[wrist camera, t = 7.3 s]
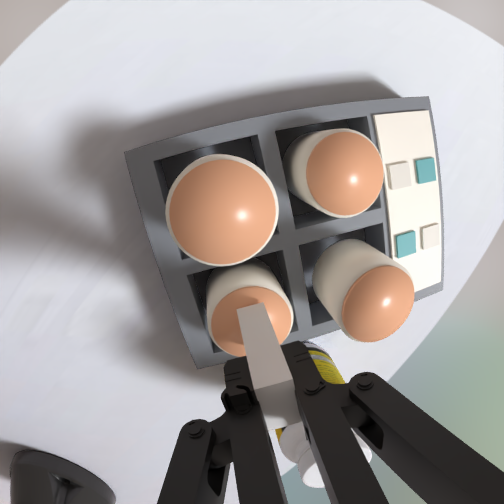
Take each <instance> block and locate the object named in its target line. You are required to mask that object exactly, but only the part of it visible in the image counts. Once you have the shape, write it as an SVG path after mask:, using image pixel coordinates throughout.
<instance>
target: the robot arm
mask: <svg viewBox="0 0 504 504" xmlns="http://www.w3.org/2000/svg"><path fill="white" fill-rule="evenodd" d="M236 310H237V314H238V319H239V324H240V329H241V333H242V338H243V342H244V347H245V352H246V356H242V357H239V358H235V359H231V360H227V362H226V364H225V366H224V374H225V382H226V389H225V390H224V391H223V392H222V394H221V400H222V403H223V405H224V407H225V410H226V411H225V413H224V414H223V415H222V416H221V417H219V418H217V419H215V420H213V421H211V422H207V421H206V420H202V419H197V420H192V421H190V422H188V423H186V424H185V425H184V426H183V427H182V429H181V431H180V433H179V436H178V439H177V443H176V446H175V449H174V452H173V455H172V458H171V461H170V464H169V467H168V471H167V474H166V477H165V480H164V483H163V486H162V489H161V493H160V496H159V499H158V502H157V504H223V503H224V498H225V492H226V486H227V481H228V475H229V469H230V463H231V462H233V463H234V470H235V477H236V484H237V490H238V496H239V503H240V504H288V502H287V498H286V494H285V491H284V487H283V483H282V480H281V476H280V472H279V469H278V465H277V461H276V457H275V454H274V450H273V446H272V442H271V439H270V436H269V433H268V431H271V430H275V429H278V428H282V427H286V426H289V425H293V424H296V423H300V422H303V426H304V430H305V435H306V440H308V442H309V445H310V447H311V450H312V453H313V456H314V458H315V461H316V464H317V467H318V469H319V472H320V475H321V478H322V480H323V483H324V486H325V488H326V491H327V494H328V496H329V499H330V502H331V504H389V503H388V501H387V499H386V497H385V495H384V493H383V491H382V489H381V487H380V485H379V483H378V481H377V479H376V477H375V475H374V473H373V471H372V469H371V467H370V465H369V463H368V461H367V459H366V457H365V455H364V453H363V451H362V449H361V447H360V445H359V443H358V441H357V439H356V437H355V435H354V433H353V431H354V432H355V433H356V434H357V435H358V436H359V437H360V438H361V439H362V440H363V441H364V442H365V443H366V444H367V445H368V446H369V447H370V448H371V449H372V450H373V451H374V452H375V453H376V454H377V455H378V456H379V457H380V458H381V459H382V460H383V461H384V462H385V463H386V464H387V465H388V466H389V467H390V468H391V469H392V470H393V471H394V472H395V473H396V474H397V475H398V476H399V477H400V478H401V479H402V480H403V481H404V482H405V483H406V484H407V485H408V486H409V487H410V488H411V489H412V490H413V491H414V492H415V493H417V494H418V495H419V496H420V497H421V498H422V499H423V500H424V501H425V502H426V503H427V504H504V472H502V471H501V470H500V469H498V468H497V467H496V466H495V465H493V464H492V463H490V462H489V461H488V460H487V459H485V458H484V457H483V456H481V455H480V454H478V453H477V452H476V451H474V450H473V449H472V448H471V447H469V446H468V445H467V444H465V443H464V442H463V441H462V440H460V439H459V438H457V437H456V436H455V435H453V434H452V433H451V432H450V431H448V430H447V429H446V428H445V427H443V426H442V425H441V424H439V423H438V422H437V421H435V420H434V419H433V418H432V417H430V416H429V415H428V414H427V413H425V412H424V411H423V410H421V409H420V408H419V407H417V406H416V405H415V404H414V403H412V402H411V401H410V400H409V399H407V398H406V397H405V396H403V395H402V394H401V393H400V392H398V391H397V390H396V389H394V388H393V387H392V386H391V385H389V384H388V383H387V382H386V381H384V380H383V379H382V378H381V377H379V376H378V375H376V374H374V373H371V372H363V373H359V374H357V375H355V376H354V377H352V378H351V380H350V382H349V383H345V384H333V383H329V382H327V381H326V380H324V379H323V378H322V377H321V375H320V373H319V371H318V369H317V367H316V365H315V363H314V361H313V359H312V357H311V355H310V353H309V351H308V349H307V347H306V345H305V344H303V343H302V342H300V341H299V340H298V341H294V342H291V343H287V344H284V345H280V344H279V342H278V339H277V336H276V334H275V331H274V329H273V326H272V323H271V321H270V318H269V316H268V313H267V311H266V308H265V305H264V303H263V302H262V303H258V304H254V305H251V306H247V307H243V308H239V309H236ZM351 428H352V429H353V431H352V429H351ZM10 477H11V486H10V497H11V504H115V501H116V497H115V494H114V492H113V491H112V490H111V488H110V487H109V486H108V485H107V484H106V483H104V482H103V481H102V480H101V479H99V478H98V477H96V476H95V475H93V474H92V473H90V472H88V471H87V470H85V469H83V468H81V467H79V466H77V465H75V464H73V463H71V462H69V461H66V460H64V459H61V458H59V457H56V456H53V455H50V454H46V453H42V452H37V451H21V452H18V453H17V454H15V456H14V458H13V461H12V463H11V466H10Z"/></svg>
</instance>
